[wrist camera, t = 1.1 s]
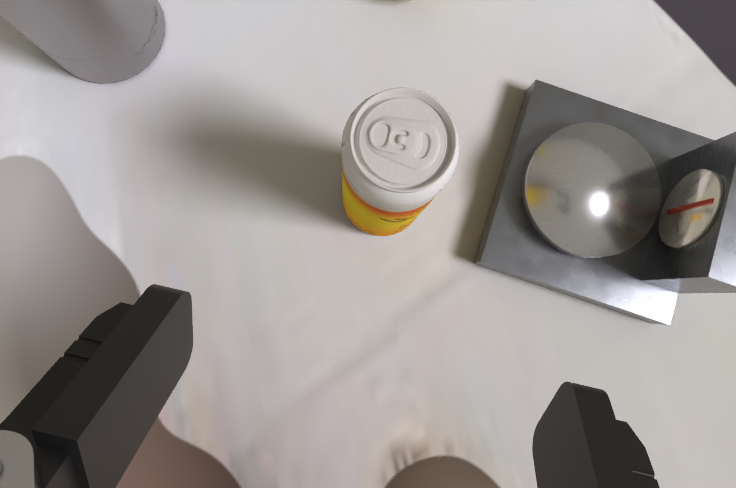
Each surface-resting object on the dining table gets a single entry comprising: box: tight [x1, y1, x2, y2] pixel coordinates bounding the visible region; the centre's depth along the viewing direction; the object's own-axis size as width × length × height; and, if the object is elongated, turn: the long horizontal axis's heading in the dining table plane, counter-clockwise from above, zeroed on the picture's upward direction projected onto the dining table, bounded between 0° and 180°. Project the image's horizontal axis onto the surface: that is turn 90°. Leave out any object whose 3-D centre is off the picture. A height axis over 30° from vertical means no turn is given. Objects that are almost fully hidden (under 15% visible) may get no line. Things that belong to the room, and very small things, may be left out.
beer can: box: [342, 88, 460, 236], centre depth 32 cm, size 6×6×15 cm
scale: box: [474, 80, 736, 325], centre depth 35 cm, size 15×15×9 cm
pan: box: [522, 122, 661, 258], centre depth 37 cm, size 10×10×1 cm
